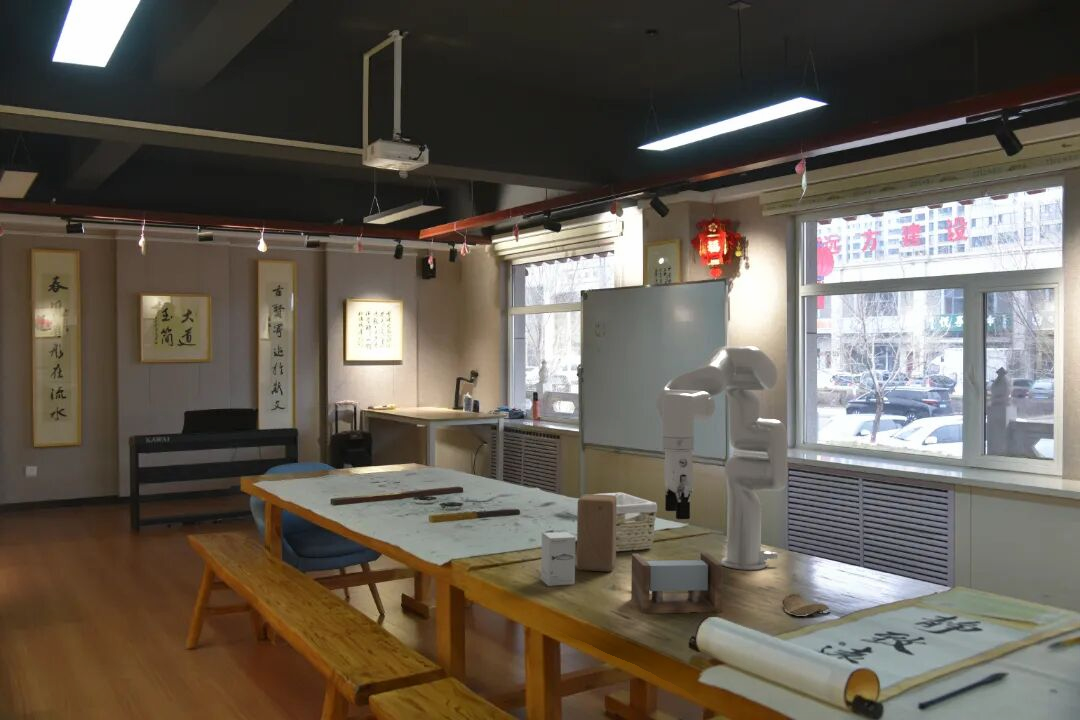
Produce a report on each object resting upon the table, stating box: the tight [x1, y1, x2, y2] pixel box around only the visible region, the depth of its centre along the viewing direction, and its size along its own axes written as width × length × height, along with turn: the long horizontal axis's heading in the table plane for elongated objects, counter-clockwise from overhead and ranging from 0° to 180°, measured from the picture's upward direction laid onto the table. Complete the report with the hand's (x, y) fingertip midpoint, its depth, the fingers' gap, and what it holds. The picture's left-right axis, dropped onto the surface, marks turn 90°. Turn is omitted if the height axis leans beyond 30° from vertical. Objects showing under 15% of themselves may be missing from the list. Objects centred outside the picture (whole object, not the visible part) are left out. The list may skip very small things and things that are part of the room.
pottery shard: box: [781, 593, 830, 615], centre depth 206 cm, size 11×4×10 cm
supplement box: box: [540, 531, 576, 587], centre depth 229 cm, size 7×7×13 cm
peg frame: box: [630, 552, 723, 614], centre depth 209 cm, size 19×12×11 cm, turn 96°
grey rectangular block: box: [645, 559, 708, 592], centre depth 209 cm, size 14×5×6 cm, turn 96°
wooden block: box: [576, 493, 617, 573], centre depth 245 cm, size 10×10×20 cm
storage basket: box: [595, 491, 658, 552], centre depth 276 cm, size 24×16×15 cm
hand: (677, 514), depth 209 cm, fingers open, 9 cm apart
